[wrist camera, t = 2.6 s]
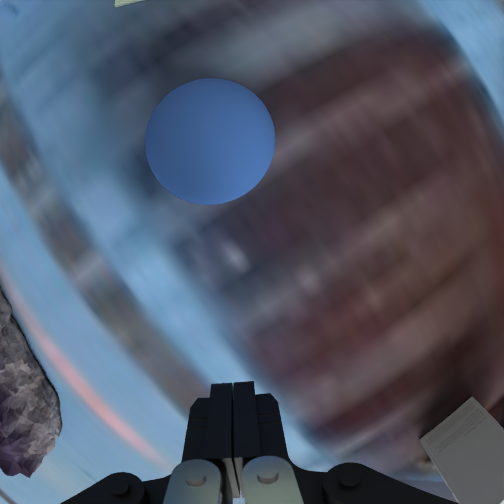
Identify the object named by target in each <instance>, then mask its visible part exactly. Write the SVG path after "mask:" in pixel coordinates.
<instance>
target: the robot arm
mask: <svg viewBox="0 0 504 504" xmlns="http://www.w3.org/2000/svg"><path fill="white" fill-rule="evenodd" d="M240 490H241V494H242V498H245V503H246V504H459V503H456V502H453V501H450V500H447V499H444V498H441V497H439V496H436V495H433V494H430V493H427V492H425V491H422V490H420V489H417V488H415V487H412V486H410V485H407V484H405V483H402V482H400V481H398V480H395V479H393V478H391V477H389V476H386V475H384V474H382V473H380V472H377V471H375V470H373V469H371V468H369V467H367V466H365V465H362V464H359V463H343V464H339V465H337V466H335V467H333V468H331V469H330V470H329V471H328V472H315V471H307V470H304V469H301V468H299V467H297V466H296V465H295V464H293V463H292V462H291V460H290V459H289V457H288V453H287V448H286V442H285V437H284V432H283V427H282V422H281V416H280V411H279V406H278V402H277V400H276V399H275V398H274V397H273V396H272V395H271V394H270V393H268V394H257V395H255V389H254V381H248V382H235V383H233V385H232V383H220V384H211V392H210V398H198V399H197V400H196V401H195V402H194V404H193V405H192V406H191V408H190V414H189V420H188V425H187V432H186V438H185V444H184V450H183V457H182V462H181V463H180V464H179V465H177V466H176V467H175V468H174V470H173V471H172V474H171V475H169V476H166V477H164V478H160V479H155V480H149V481H143V482H142V481H141V480H140V479H139V478H138V477H137V476H135V475H133V474H131V473H126V472H118V473H114V474H111V475H109V476H107V477H105V478H104V479H102V480H100V481H99V482H97V483H95V484H94V485H92V486H90V487H89V488H87V489H85V490H84V491H82V492H80V493H78V494H77V495H75V496H73V497H71V498H70V499H68V500H66V501H64V502H62V503H61V504H233V498H240Z"/></svg>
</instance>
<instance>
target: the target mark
mask: <svg viewBox="0 0 504 504" xmlns="http://www.w3.org/2000/svg"><path fill="white" fill-rule="evenodd" d="M140 1H144V0H115V7H119V6H123V5H127V4H131V3H135V2H140Z"/></svg>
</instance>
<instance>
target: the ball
mask: <svg viewBox="0 0 504 504" xmlns="http://www.w3.org/2000/svg"><path fill="white" fill-rule="evenodd" d="M274 149H275V131H274V126H273V122H272V119H271V117H270V114H269V112H268V110H267V109H266V107H265V105H264V104H263V103H262V101H261V100H260V99H259V98H258V97H257V96H256V95H255V94H254V93H253V92H252V91H250V90H249V89H247V88H246V87H244V86H242V85H240V84H238V83H235V82H232V81H229V80H225V79H218V78H204V79H198V80H194V81H191V82H188V83H185V84H183V85H181V86H179V87H177V88H176V89H174V90H173V91H171V92H170V93H169V94H168V95H166V96H165V97H164V98H163V99H162V100H161V102H160V103H159V104H158V105H157V107H156V108H155V110H154V112H153V113H152V115H151V118H150V120H149V122H148V126H147V129H146V135H145V151H146V157H147V160H148V163H149V166H150V168H151V170H152V172H153V174H154V175H155V177H156V179H157V180H158V181H159V182H160V184H161V185H162V186H163V187H164V188H165V189H166V190H168V191H169V192H170V193H172V194H173V195H175V196H177V197H178V198H180V199H183V200H185V201H188V202H191V203H196V204H203V205H214V204H221V203H225V202H229V201H232V200H234V199H237V198H239V197H241V196H242V195H244V194H246V193H247V192H249V191H250V190H251V189H252V188H254V187H255V186H256V185H257V184H258V183H259V181H260V180H261V179H262V178H263V176H264V175H265V173H266V172H267V170H268V168H269V166H270V163H271V161H272V158H273V154H274Z"/></svg>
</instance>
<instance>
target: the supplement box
mask: <svg viewBox="0 0 504 504" xmlns="http://www.w3.org/2000/svg"><path fill="white" fill-rule="evenodd" d="M420 443H421V444H422V446H423V447H424V449H425V451H426V452H427V454H428V455H429V457H430V458H431V460H432V462H433V463H434V465H435V466H436V468H437V470H438V471H439V473H440V474H441V476H442V478H443V479H444V481H445V482H446V484H447V486H448V487H449V489H450V491H451V492H452V494H453V495H454V497H455V499H456V500H457V502H458V503H459V504H504V429H503V428H502V427H501V426H500V425H499V424H498V422H497V421H496V420H495V419H494V418H493V417H492V416H491V415H490V414H489V413H488V412H487V411H486V410H485V409H484V408H483V407H482V405H480V403H479V402H478V401H477V400H476V399H475V398H474V397H473V396H472V397H470V398H469V399H468V400H467V401H466V402H465V403H464V404H462V405H461V406H460V407H459V408H458V409H457V410H455V411H454V412H453V413H452V414H451V415H450V416H448V417H447V418H446V419H445V420H443V421H442V422H441V423H440V424H439V425H437V426H436V427H435V428H434V429H432V430H431V431H430V432H428V433H427V434H426V435H424V436H423V437H422V438H421V439H420Z"/></svg>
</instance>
